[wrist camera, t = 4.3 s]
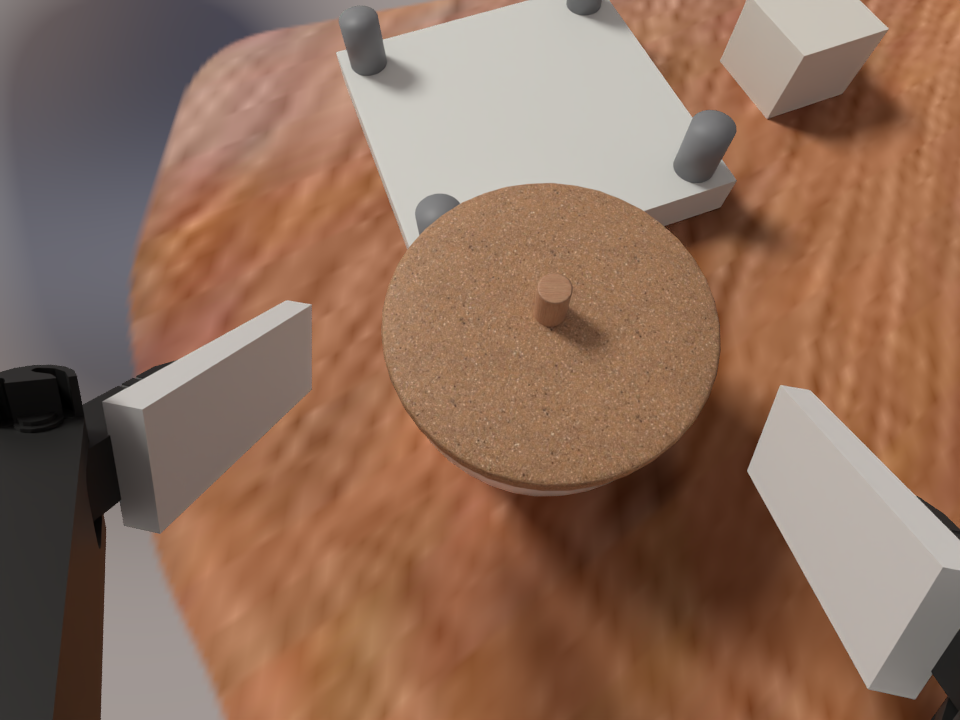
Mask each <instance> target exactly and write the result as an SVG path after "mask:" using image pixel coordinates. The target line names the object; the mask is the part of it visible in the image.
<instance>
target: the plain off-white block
mask: <svg viewBox="0 0 960 720" xmlns="http://www.w3.org/2000/svg"><path fill="white" fill-rule="evenodd" d="M888 30H889V29H888V28H887V27H886V26H885V25H884V24H883V23H882V22H881V21H880V20H879V19H878V18H877V17H876V16H875V15H874V14H873V13H872V12H871V11H870V10H869V9H868V8H867V7H866V6H865V5H864V4H863V3H862V2H861V1H860V0H747V1H746V3H745V5H744V7H743V10H742V12H741V14H740V17H739V19H738V21H737V23H736V26H735V28H734V30H733V33H732V35H731V37H730V40H729V42H728V44H727V46H726V49H725V51H724V53H723V56H722V58H721V60H720V62H721V63H722V64H723V65H724V67H725V68H726V69H727V70H728V72H729V73H730V74H731V75H732V77H733V78H734V79H735V80H736V81H737V83H738V84H739V85H740V86H741V88H742V89H743V90H744V91H745V93H746V94H747V95H748V96H749V97H750V99H751V100H752V101H753V102H754V104H755V105H756V106H757V107H758V109H759V110H760V111H761V112H762V114H763V115H764V116H765V117H766V118H767V119H768V118H771V117H774V116H777V115H780V114H783V113H786V112H789V111H792V110H795V109H798V108H801V107H804V106H807V105H810V104H813V103H816V102H819V101H822V100H825V99H828V98H831V97H834V96H837V95H840V94H843V92H844V91H845V90H846V88H847V87H848V85H849V84H850V83H851V81H852V80H853V78H854V77H855V76H856V74H857V73H858V71H859V70H860V69H861V67H862V66H863V64H864V63H865V62H866V60H867V59H868V58H869V56H870V55H871V53H872V52H873V51H874V49H875V48H876V46H877V45H878V44H879V42H880V41H881V39H882V38H883V37H884V35H885V34H886V32H887V31H888Z"/></svg>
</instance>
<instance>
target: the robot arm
mask: <svg viewBox="0 0 960 720" xmlns="http://www.w3.org/2000/svg"><path fill="white" fill-rule="evenodd" d="M311 390H312V305H311V304H305V303H299V302H293V301H288V300H286V301H284V302H283V303H281V304H279V305H277V306H275V307H274V308H272V309H270V310H268V311H266V312H264V313H263V314H261V315H259V316H257V317H255V318H253V319H252V320H250V321H248V322H246V323H244V324H243V325H241V326H239V327H237V328H235V329H233V330H232V331H230V332H228V333H226V334H224V335H223V336H221V337H219V338H217V339H215V340H213V341H212V342H210V343H208V344H206V345H204V346H202V347H201V348H199V349H197V350H195V351H193V352H192V353H190V354H188V355H186V356H184V357H182V358H181V359H179V360H176V361H172V362H169V363H165V364H162V365H158V366H155V367H153V368H151V369H149V370H147V371H145V372H143V373H141V374H140V375H138V376H136V379H135V378H132V379H130V380H128V381H126V382H125V383H123V384H122V386H121V387H120V386H117V387H115V388H113V389H111V390H110V391H108V392H106V393H104V394H102V395H100V396H98V397H97V398H95V399H93V400H91V401H89V402H87V403H85V404H83V405H82V401H81V396H80V390H79V386H78V380H77V376H76V373H75V371H74V370H72V369H69V368H67V367H64V366H56V365H32V366H25V367H19V368H13V369H10V370H6V371H2V372H0V720H101V718H100V717H101V686H102V684H101V683H102V652H103V651H102V650H103V619H104V617H103V616H104V583H105V550H106V526H105V520H104V515H103V514H104V513H105V512H106V511H108V510H109V509H110V508H111V507H113V506H114V505H115V504H116V503H118V502H119V501H120V506H121V512H122V517H123V523H124V526H127V527H132V528H136V529H141V530H145V531H150V532H155V533H159V534H160V533H162V532H163V531H164V530H165V529H166V528H167V527H168V526H169V525H170V524H171V523H172V522H173V521H174V520H175V519H176V518H177V517H178V516H179V515H180V514H181V513H183V512H184V511H185V510H186V509H187V508H188V507H189V506H190V505H191V504H192V503H193V502H194V501H195V500H196V499H197V498H198V497H199V496H200V495H201V494H202V493H204V492H205V491H206V490H207V489H208V488H209V487H210V486H211V485H212V484H213V483H214V482H215V481H216V480H217V479H218V478H219V477H220V476H221V475H222V474H223V473H225V472H226V471H227V470H228V469H229V468H230V467H231V466H232V465H233V464H234V463H235V462H236V461H237V460H238V459H239V458H240V457H241V456H242V455H243V454H244V453H246V452H247V451H248V450H249V449H250V448H251V447H252V446H253V445H254V444H255V443H256V442H257V441H258V440H259V439H260V438H261V437H262V436H263V435H264V434H265V433H267V432H268V431H269V430H270V429H271V428H272V427H273V426H274V425H275V424H276V423H277V422H278V421H279V420H280V419H281V418H282V417H283V416H284V415H285V414H286V413H288V412H289V411H290V410H291V409H292V408H293V407H294V406H295V405H296V404H297V403H298V402H299V401H300V400H301V399H302V398H303V397H304V396H305V395H306V394H307V393H309V392H310V391H311ZM747 472H748V474H749V475H750V477H751V479H752V481H753V483H754V484H755V486H756V488H757V490H758V492H759V493H760V495H761V497H762V499H763V501H764V502H765V504H766V506H767V508H768V510H769V512H770V513H771V515H772V517H773V519H774V521H775V522H776V524H777V526H778V528H779V530H780V531H781V533H782V535H783V537H784V539H785V540H786V542H787V544H788V546H789V548H790V549H791V551H792V553H793V555H794V557H795V558H796V560H797V562H798V564H799V566H800V567H801V569H802V571H803V573H804V575H805V576H806V578H807V580H808V582H809V584H810V585H811V587H812V589H813V591H814V593H815V594H816V596H817V598H818V600H819V602H820V603H821V605H822V607H823V609H824V611H825V612H826V614H827V616H828V618H829V620H830V621H831V623H832V625H833V627H834V629H835V631H836V632H837V634H838V636H839V638H840V640H841V641H842V643H843V645H844V647H845V649H846V650H847V652H848V654H849V656H850V658H851V659H852V661H853V663H854V665H855V667H856V668H857V670H858V672H859V674H860V676H861V677H862V679H863V681H864V683H865V685H866V686H867V688H868V689H870V690H874V691H879V692H883V693H888V694H892V695H897V696H901V697H906V698H911V699H916V698H917V696H918V695H919V693H920V692H921V690H922V689H923V687H924V686H925V684H926V683H927V681H928V680H929V678H930V677H931V675H932V674H933V675H934V677H935V678H936V680H937V681H938V683H939V684H940V685H941V687H942V688H943V690H944V691H945V693H946V694H947V696H948V697H947V698H946V699H945V701H944V702H943V704H942V705H941V706H940V708H939V709H938V711H937V712H936V714H935V715H934V716H933V718H932V719H931V720H960V529H959V528H958V527H957V526H956V525H955V524H954V523H953V522H952V521H951V520H950V519H949V518H948V517H947V516H946V515H945V514H943V513H942V512H940V511H939V510H937V509H936V508H934V507H933V506H931V505H930V504H928V503H927V502H925V501H924V500H922V499H921V498H919V497H918V496H915V495H914V494H913V493H912V492H911V491H910V490H909V489H908V488H907V487H906V486H905V485H904V484H903V483H902V482H901V481H900V480H899V479H898V478H897V477H896V476H895V475H894V474H893V473H892V472H891V471H890V470H889V469H888V468H887V467H886V466H885V465H884V464H883V463H882V462H881V461H880V460H879V459H878V458H877V457H876V456H875V455H874V454H873V453H872V452H871V451H870V450H869V449H868V448H867V447H866V446H865V445H864V444H863V443H862V442H861V441H860V440H859V439H858V438H857V437H856V436H855V435H854V434H853V433H852V432H851V431H850V430H849V429H848V428H847V427H846V426H845V425H844V424H843V423H842V422H841V421H840V420H839V419H838V418H837V417H836V416H835V415H834V414H833V413H832V412H831V411H830V410H829V409H828V408H827V407H826V406H825V405H824V404H823V403H822V402H821V401H820V400H819V399H818V398H817V397H816V396H815V395H814V394H813V393H812V392H811V391H810V390H806V389H800V388H794V387H788V386H783V385H780V387H779V390H778V392H777V395H776V398H775V400H774V403H773V405H772V408H771V411H770V413H769V416H768V418H767V421H766V423H765V426H764V429H763V431H762V434H761V436H760V439H759V441H758V444H757V447H756V449H755V452H754V454H753V457H752V460H751V462H750V465H749V467H748V470H747Z"/></svg>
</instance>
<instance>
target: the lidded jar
mask: <svg viewBox="0 0 960 720" xmlns="http://www.w3.org/2000/svg"><path fill="white" fill-rule="evenodd" d="M381 334H382V344H383V353H384V358H385V362H386V365H387V369H388V372H389V376H390V379H391V382H392V384H393V386H394V388H395V390H396V392H397V394H398V396H399V398H400V400H401V402H402V404H403V406H404V408H405V410H406V411H407V413H408V414H409V415H410V417H411V418H412V419H413V421H414V422H415V424H416V425H417V426H418V428H419V429H420V430H421V431H422V432H423V433H424V434H425V435H426V436H427V438H428V439H429V441H430V442H431V443H432V444H433V445H434V446H435V447H436V448H437V449H438V450H439V451H440V452H441V453H442V454H443V455H444V456H445V457H446V458H447V459H448V460H449V461H450V462H452V463H453V464H454V465H456V466H457V467H459V468H460V469H461V470H463V471H464V472H466V473H467V474H468V475H470V476H472V477H474V478H476V479H478V480H480V481H482V482H484V483H486V484H488V485H490V486H492V487H496V488H499V489H502V490H505V491H508V492H511V493H517V494H523V495H530V496H563V495H569V494H574V493H580V492H586V491H589V490H592V489H595V488H598V487H600V486H603V485H606V484H609V483H611V482H613V481H614V480H617V479H620V478H622V477H625V476H628V475H629V474H631V473H633V472H635V471H637V470H638V469H640V468H642V467H644V466H646V465H647V464H649V463H651V462H652V461H654V460H655V459H656V458H658V457H659V456H660V455H661V454H663V453H664V452H665V451H666V450H667V449H669V448H670V447H671V446H672V445H674V444H675V443H676V442H677V441H678V440H679V439H680V438H681V437H682V436H683V434H684V433H685V432H686V431H687V430H688V429H689V427H690V426H691V425H692V424H693V423H694V422H695V420H696V419H697V417H698V415H699V413H700V412H701V410H702V408H703V407H704V405H705V403H706V401H707V400H708V398H709V395H710V392H711V389H712V386H713V383H714V381H715V378H716V375H717V369H718V363H719V356H720V324H719V319H718V314H717V310H716V305H715V301H714V298H713V296H712V293H711V291H710V288H709V285H708V283H707V280H706V278H705V277H704V275H703V273H702V272H701V270H700V268H699V266H698V265H697V263H696V261H695V260H694V258H693V257H692V256H691V254H690V253H689V252H688V251H687V249H686V248H685V247H684V246H683V244H682V243H681V242H680V240H679V239H678V238H677V237H675V236H674V235H673V234H672V233H671V232H670V231H669V230H668V229H667V228H665V227H664V226H663V225H662V224H661V223H660V222H658V221H657V220H655V219H654V218H653V217H651V216H650V215H649V214H647V213H646V212H644V211H643V210H641V209H640V208H638V207H636V206H634V205H632V204H630V203H628V202H626V201H624V200H622V199H619V198H617V197H614V196H611V195H609V194H606V193H604V192H601V191H598V190H593V189H589V188H584V187H580V186H575V185H566V184H557V183H536V184H523V185H516V186H509V187H504V188H501V189H497V190H494V191H490V192H487V193H484V194H481V195H479V196H477V197H474V198H472V199H469V200H467V201H465V202H462V203H461V204H459V205H458V206H456V207H455V208H453V209H451V210H450V211H448V212H447V213H445V214H443V215H442V216H441V217H439V218H438V219H437V220H436V221H435V222H433V223H432V224H431V225H430V226H428V227H427V228H426V229H425V230H424V231H423V232H422V233H421V234H420V235H419V237H418V238H417V239H416V240H415V241H414V242H413V243H412V244H411V246H410V247H409V248H408V250H407V251H406V253H405V254H404V256H403V258H402V259H401V261H400V262H399V264H398V265H397V268H396V270H395V272H394V275H393V277H392V279H391V281H390V284H389V286H388V290H387V294H386V298H385V302H384V306H383V314H382V329H381Z"/></svg>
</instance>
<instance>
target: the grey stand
mask: <svg viewBox="0 0 960 720" xmlns="http://www.w3.org/2000/svg"><path fill="white" fill-rule="evenodd" d="M339 25H340V28H341V32H342V35H343V39H344V43H345V46H346V50H343V51H339V52H336V54H337V57H338V61H339V64H340V67H341V71H342V74H343V77H344V81H345V84H346V87H347V89H348V92H349V95H350V97H351V100H352V103H353V105H354V108H355V111H356V113H357V116H358V119H359V121H360V124H361V127H362V129H363V132H364V135H365V137H366V140H367V143H368V145H369V148H370V151H371V153H372V156H373V159H374V161H375V164H376V167H377V169H378V172H379V175H380V177H381V180H382V183H383V185H384V188H385V191H386V193H387V196H388V199H389V201H390V204H391V207H392V209H393V212H394V215H395V217H396V220H397V223H398V225H399V228H400V231H401V233H402V236H403V239H404V241H405V244H406V247H407V249H408V248H409V247H410V246H411V244H412V243H413V242H414V241H415V240H416V239H417V238H418V237H419V235H420V234H421V233H422V232H423V231H424V230H425V229H426V228H427V227H428V226H430V225H431V224H432V223H433V222H435V221H436V220H437V219H438V218H439V217H441V216H442V215H443V214H445V213H447V212H448V211H450V210H451V209H453V208H455V207H456V206H458V205H459V204H461V203H462V202H465V201H467V200H469V199H472V198H474V197H477V196H479V195H481V194H484V193H487V192H490V191H494V190H497V189H501V188H504V187H509V186H516V185H523V184H536V183H557V184H566V185H575V186H580V187H584V188H589V189H593V190H598V191H601V192H604V193H606V194H609V195H611V196H614V197H617V198H619V199H622V200H624V201H626V202H628V203H630V204H632V205H634V206H636V207H638V208H640V209H641V210H643V211H644V212H646V213H647V214H649V215H650V216H651V217H653V218H654V219H655V220H657V221H658V222H660V223H661V224H662V225H663V226H666V225H669V224H672V223H675V222H678V221H681V220H684V219H687V218H690V217H693V216H696V215H699V214H702V213H705V212H708V211H711V210H714V209H717V208H720V207H721V206H722V204H723V202H724V201H725V199H726V197H727V196H728V194H729V193H730V191H731V189H732V188H733V186H734V184H735V183H736V181H737V180H736V179H735V177H734V176H733V175H732V173H731V172H730V170H729V169H728V168H727V166H726V165H725V163H724V162H723V160H722V158H723V156H724V154H725V152H726V151H727V149H728V147H729V145H730V143H731V141H732V140H733V138H734V136H735V134H736V125H735V123H734V121H733V120H732V119H731V118H730V117H729V116H728V115H726V114H724V113H722V112H719V111H715V110H706V111H702V112H699V113H697V114H696V115H695V116H694V117H693V118H692V117H691V115H690V114H689V112H688V111H687V110H686V108H685V107H684V105H683V104H682V103H681V101H680V100H679V98H678V97H677V95H676V94H675V93H674V91H673V90H672V88H671V87H670V86H669V84H668V83H667V81H666V80H665V78H664V77H663V76H662V74H661V73H660V71H659V70H658V69H657V67H656V66H655V64H654V63H653V62H652V60H651V59H650V57H649V56H648V54H647V53H646V52H645V50H644V49H643V47H642V46H641V45H640V43H639V42H638V40H637V39H636V37H635V36H634V35H633V33H632V32H631V30H630V29H629V28H628V26H627V25H626V23H625V22H624V21H623V19H622V18H621V16H620V15H619V13H618V12H617V11H616V9H615V8H614V6H613V5H612V4H611V2H610V1H609V0H528V1H524V2H520V3H517V4H513V5H509V6H506V7H502V8H498V9H495V10H491V11H487V12H484V13H480V14H476V15H472V16H469V17H465V18H461V19H458V20H454V21H450V22H447V23H443V24H439V25H436V26H432V27H428V28H424V29H421V30H417V31H413V32H410V33H406V34H402V35H399V36H395V37H391V38H387V39H384V40H383V39H382V35H381V30H380V25H379V20H378V15H377V13H376V11H375V10H374V9H372V8H370V7H367V6H354V7H351V8H348V9H347V10H345V11H344V12H343V13H342V14H341V15H340V17H339Z"/></svg>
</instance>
